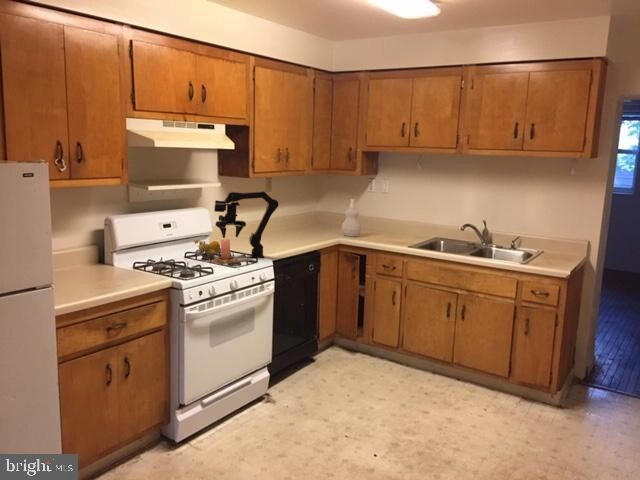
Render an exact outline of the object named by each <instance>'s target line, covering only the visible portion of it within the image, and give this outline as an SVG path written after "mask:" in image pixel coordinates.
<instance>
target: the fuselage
mask: <svg viewBox="0 0 640 480" xmlns="http://www.w3.org/2000/svg"><path fill="white" fill-rule="evenodd" d="M220 250H221V252H220V257H221V260H230V257H231V240H230V239H229V238H228V239H227V238H223V239H220Z"/></svg>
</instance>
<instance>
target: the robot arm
mask: <svg viewBox="0 0 640 480" xmlns="http://www.w3.org/2000/svg"><path fill="white" fill-rule="evenodd" d="M249 199H263V201H265V202H266V204H267V205H266V209H265V212H264V214H263V216H262V217H261V219H260V222H259V224H258V226H257V228H256V230H255V232H251V233H250V237H248V241H249V244H250V246H251V247H252V248H251V251H250V252H251V256H250V257H251V258H263V257H264V246H263V245H262V243H261V240H262V235H263V233H264V231H265V228H266V227H267V225H268V223H269V220H270V218H271V217H272V214H273V213H274V212H275V211H277V208H278V207H279V202H278V200H276V199H275V198H271V196H269V195H268V194H267V192H266V191H264V190H261V191H249V192H248V191H247V192H240V191H229V192H228V193H227V197H225V199H224V200H217V199H216V200H215V201H214V202H215V203H214V210H213V211H214V212H217V213H225V211H226V213H225V214H224V216H223V214H222V215H218V221H216V222H215V227H217V228H219V230H220V233H221V236H222V238H223V239H226V233H227V226H235V238H238V236H239V235H240V233H241V231H242V230H243V229H244V228H245V227H246V226H247V223H246V221H245V220H242V219H241V220H237V217H238V214H237V206H241V204H240V203H239V201H241V200H249Z"/></svg>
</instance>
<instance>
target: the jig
mask: <svg viewBox="0 0 640 480" xmlns="http://www.w3.org/2000/svg"><path fill="white" fill-rule="evenodd" d="M241 257H242V258H244V257H243V256H241ZM249 261H252V260H251V259H249V260H247V261H246V262H249ZM210 262H211V263H213V264H217V265H219V266H221V265H227V264H235V263H242V262H245V261H239V262H237V259H236V258H234V256H230V260H221V256H218V257H213V260H210Z"/></svg>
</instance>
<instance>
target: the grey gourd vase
mask: <svg viewBox="0 0 640 480" xmlns="http://www.w3.org/2000/svg"><path fill="white" fill-rule="evenodd" d="M355 206H356V205H355V199H354V198H353V199H352V198H351V199H350V204H349V208H348V209H347V210H345V212H344V214H345V217H346V218H345V220H344V221H343V222H342V224H341V227H340V228H341V232H342V234H343V235H344V236H345V237H351V238H354V237H358V236H359V235H360V234H361V231H362V225H361V224H360V222H359V220H358V217H359V215H360V211H358V210H357V209H356V207H355Z"/></svg>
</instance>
